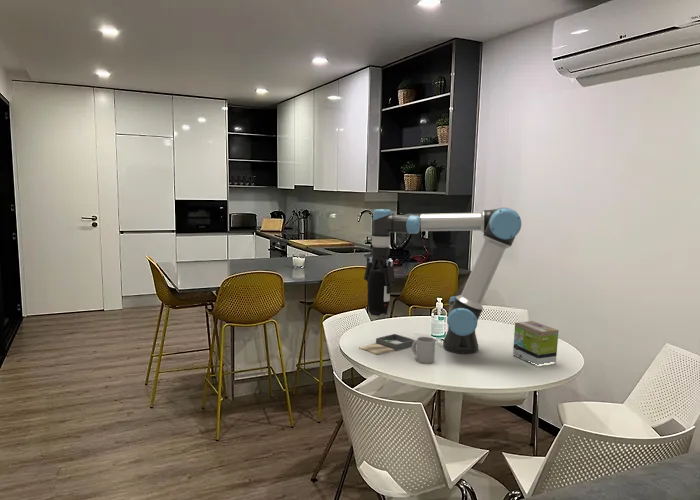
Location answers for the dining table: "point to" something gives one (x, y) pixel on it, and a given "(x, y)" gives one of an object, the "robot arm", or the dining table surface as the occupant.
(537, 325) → the tea box
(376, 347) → the birch board
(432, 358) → the cup
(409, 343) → the tray
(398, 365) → the dining table surface
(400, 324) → the dining table surface
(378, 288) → the portable speaker
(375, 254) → the robot arm
